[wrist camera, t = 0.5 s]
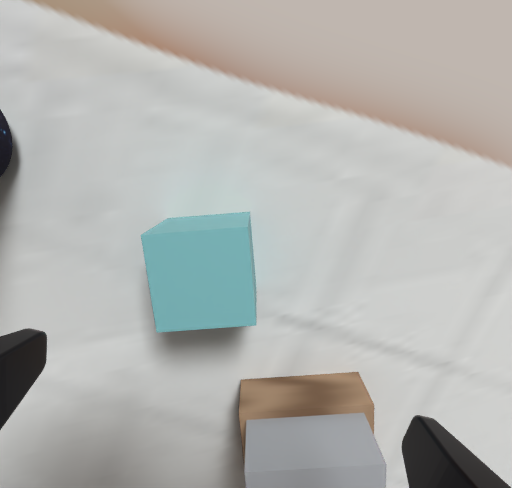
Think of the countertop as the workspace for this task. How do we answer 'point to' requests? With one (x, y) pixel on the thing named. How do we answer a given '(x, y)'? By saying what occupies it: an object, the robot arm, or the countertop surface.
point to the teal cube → (201, 272)
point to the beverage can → (4, 144)
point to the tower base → (303, 398)
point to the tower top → (313, 453)
